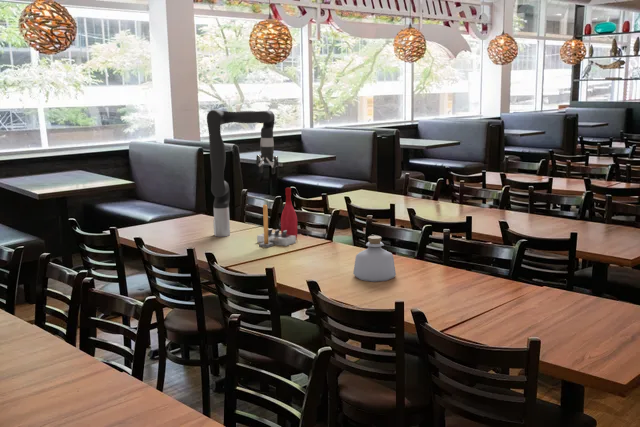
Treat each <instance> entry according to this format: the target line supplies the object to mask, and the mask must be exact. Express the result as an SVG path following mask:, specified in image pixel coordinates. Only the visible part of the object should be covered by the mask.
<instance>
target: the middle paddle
mask: <svg viewBox="0 0 640 427" xmlns="http://www.w3.org/2000/svg"><path fill="white" fill-rule="evenodd" d="M280 232H281V229H278V228H277V229H276V230H275V231H274V233H275V234H274V235H278V234H280Z"/></svg>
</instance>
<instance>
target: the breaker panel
mask: <svg viewBox="0 0 640 427" xmlns="http://www.w3.org/2000/svg"><path fill="white" fill-rule="evenodd" d="M274 234H275V232H272V233H271V234H269V235H268V242H271V243H274V246H275V245H276V246H283V247H287V246H290V245H292V244H293V245H294V244H295V243H296V242H297V237H296V235H288V234H286V235H285V236H281V235H282V234H281V233H279V234H278V235H274ZM256 239H257V240H256V243H259V244H260V243H263V242H264V232H263V233H260V234H257V235H256Z"/></svg>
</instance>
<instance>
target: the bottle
mask: <svg viewBox="0 0 640 427" xmlns="http://www.w3.org/2000/svg"><path fill="white" fill-rule="evenodd" d="M367 240H368V242H366V244H365V246H366V247H367V248H366V249H364V250H362V251H360V252H358V253H357V254H356V255H355V260H354V266H353V275H354V277H356V278H357V279H359V280H360V281H365V282H366V281H367V282H374V283H376V282H377V283H378V282H387V281H390V280H392V279H394V278H395V277H396V275H397V273H396V272H397V271H396V267H395V266H396V265H395V260H394V259H395V258H394V256H393V253H392V252H391V251H387V249H384V248H382V246H384V245H385V244H384V243H383V242H382V236H379V235H369V236H368V237H367Z"/></svg>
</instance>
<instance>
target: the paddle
mask: <svg viewBox="0 0 640 427" xmlns="http://www.w3.org/2000/svg"><path fill="white" fill-rule="evenodd" d="M273 230H274V229H273V228H268V235H269V234H271V233H273Z"/></svg>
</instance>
